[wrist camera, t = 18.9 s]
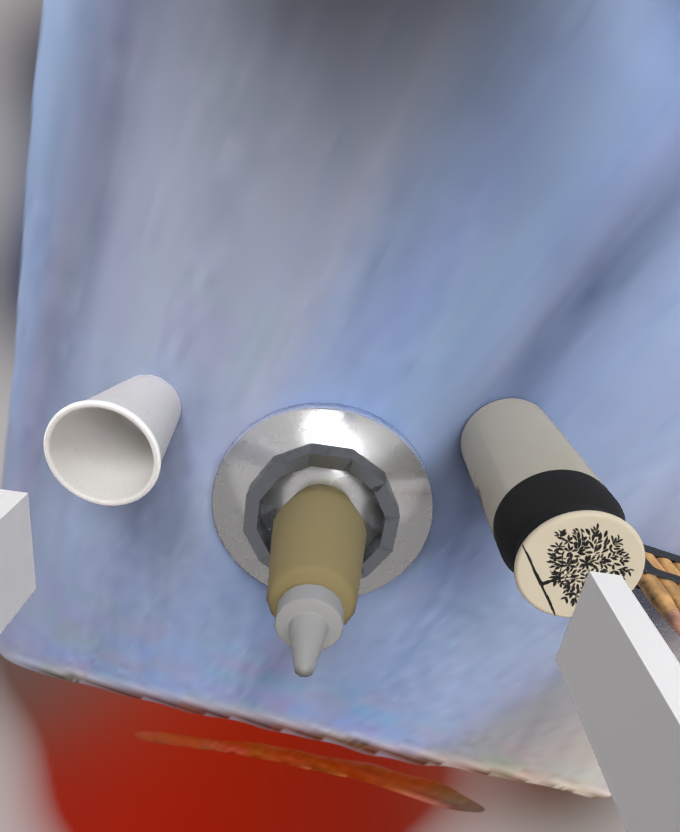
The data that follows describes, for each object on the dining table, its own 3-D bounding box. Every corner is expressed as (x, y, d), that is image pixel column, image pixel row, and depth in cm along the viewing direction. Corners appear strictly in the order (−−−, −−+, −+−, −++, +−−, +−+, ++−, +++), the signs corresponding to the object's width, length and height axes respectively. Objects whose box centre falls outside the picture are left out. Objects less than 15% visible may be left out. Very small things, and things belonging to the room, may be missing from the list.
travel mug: (542, 385, 48) (641, 493, 31) (559, 465, 50) (659, 604, 34) (449, 412, 49) (497, 531, 32) (472, 489, 51) (526, 635, 35)
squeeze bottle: (280, 548, 53) (244, 717, 36) (273, 472, 50) (231, 618, 33) (366, 548, 52) (371, 717, 36) (365, 471, 49) (369, 617, 33)
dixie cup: (97, 354, 48) (35, 396, 38) (196, 364, 48) (157, 407, 38) (105, 444, 51) (48, 501, 42) (197, 452, 51) (161, 512, 42)
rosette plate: (223, 387, 48) (213, 401, 45) (452, 420, 49) (458, 437, 46) (209, 574, 56) (200, 598, 53) (408, 602, 57) (411, 627, 53)
